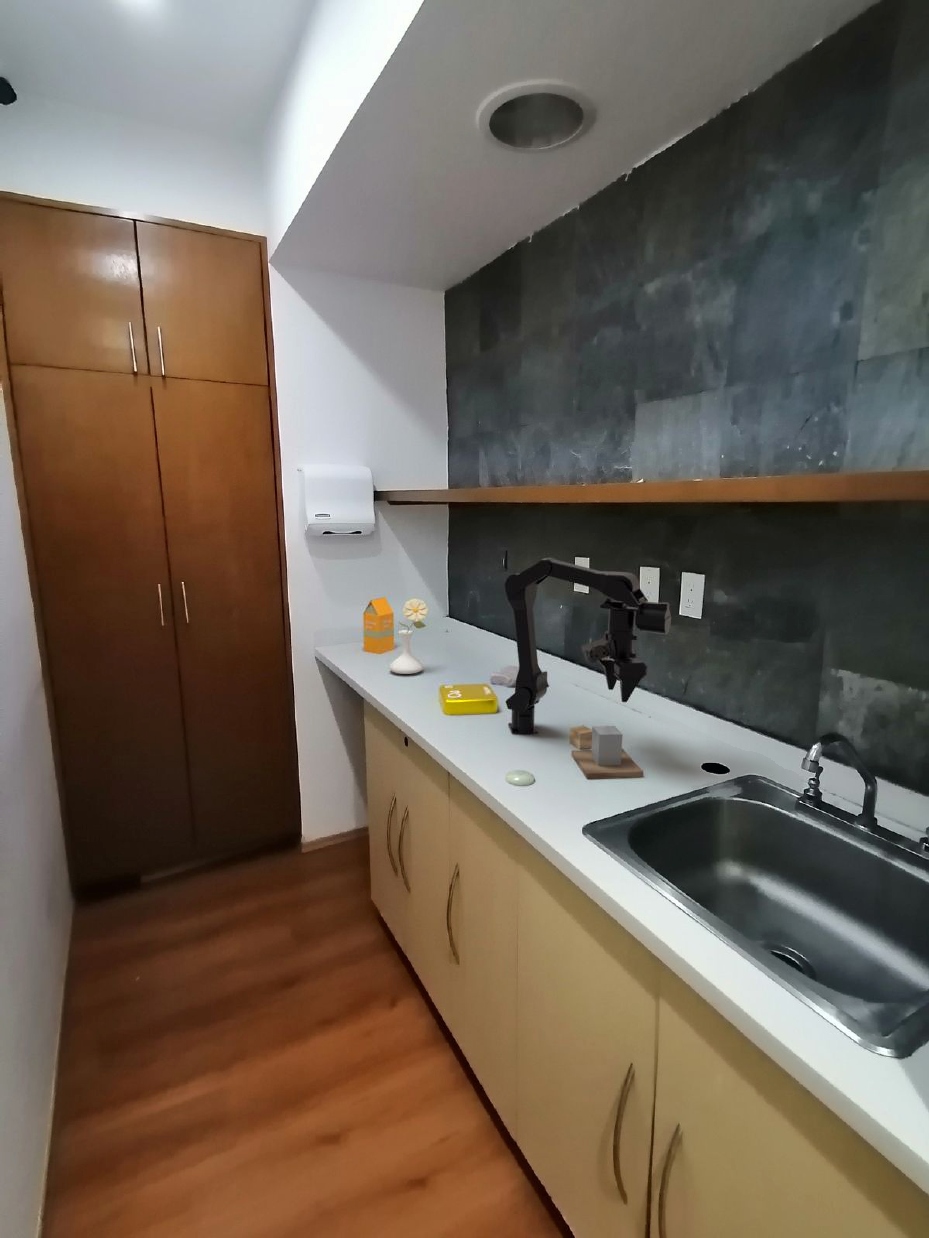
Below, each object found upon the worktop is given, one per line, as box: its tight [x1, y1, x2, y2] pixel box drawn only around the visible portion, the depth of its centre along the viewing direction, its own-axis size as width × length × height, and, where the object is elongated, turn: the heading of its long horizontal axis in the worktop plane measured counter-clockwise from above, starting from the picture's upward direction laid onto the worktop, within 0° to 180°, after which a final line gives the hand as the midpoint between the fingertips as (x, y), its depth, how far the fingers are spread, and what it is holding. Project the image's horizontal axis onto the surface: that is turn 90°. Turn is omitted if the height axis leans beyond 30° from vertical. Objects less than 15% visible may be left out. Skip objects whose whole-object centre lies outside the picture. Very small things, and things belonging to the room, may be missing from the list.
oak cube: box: [568, 724, 593, 750], centre depth 148 cm, size 4×4×4 cm
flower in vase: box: [388, 597, 429, 675], centre depth 206 cm, size 13×11×25 cm
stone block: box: [490, 665, 519, 688], centre depth 198 cm, size 12×5×10 cm
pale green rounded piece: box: [504, 769, 535, 787], centre depth 130 cm, size 6×6×1 cm
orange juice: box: [362, 596, 395, 655], centre depth 236 cm, size 8×9×20 cm
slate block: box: [590, 725, 623, 766], centre depth 136 cm, size 5×5×7 cm
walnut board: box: [571, 748, 644, 780], centre depth 136 cm, size 12×12×1 cm
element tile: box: [438, 683, 499, 716], centre depth 175 cm, size 15×15×5 cm
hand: (617, 695), depth 143 cm, fingers open, 9 cm apart
